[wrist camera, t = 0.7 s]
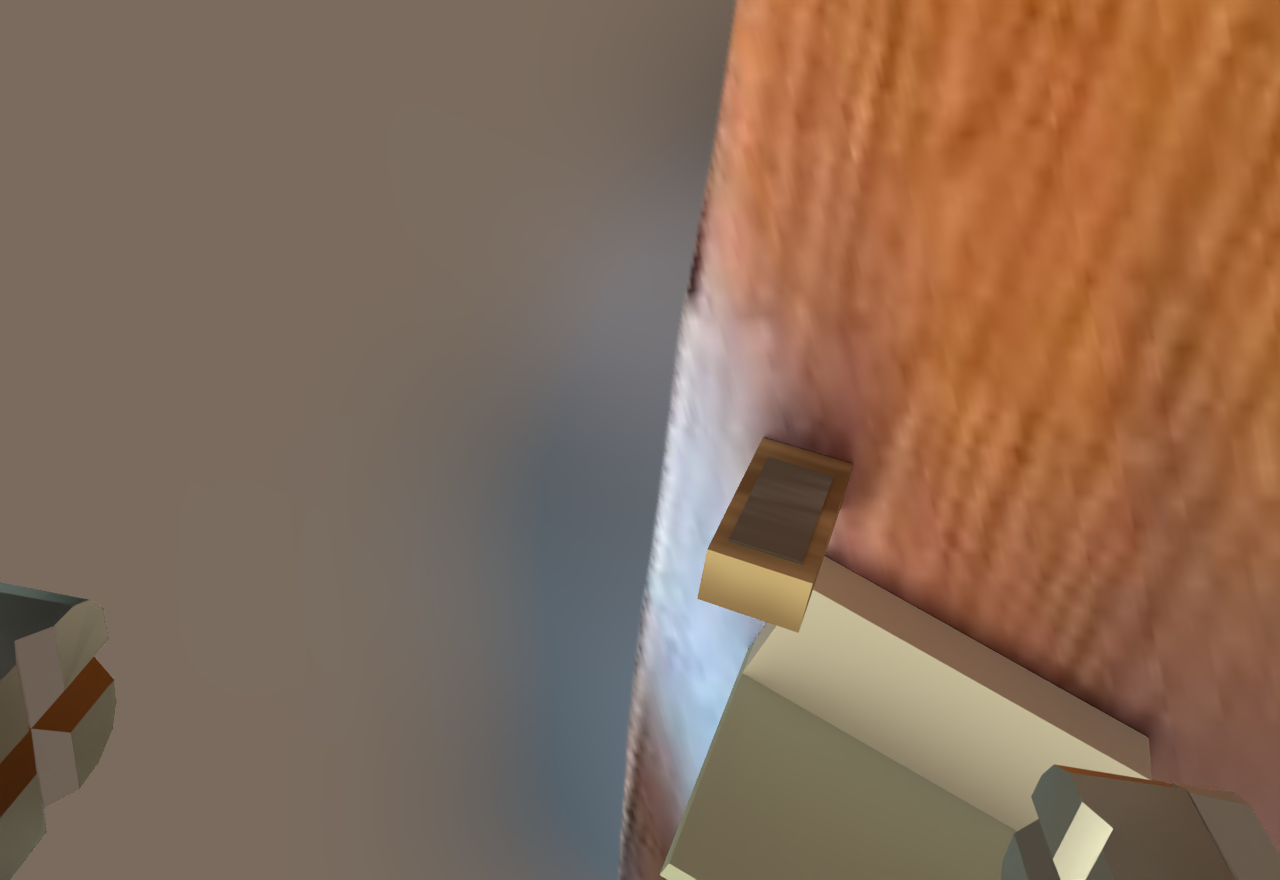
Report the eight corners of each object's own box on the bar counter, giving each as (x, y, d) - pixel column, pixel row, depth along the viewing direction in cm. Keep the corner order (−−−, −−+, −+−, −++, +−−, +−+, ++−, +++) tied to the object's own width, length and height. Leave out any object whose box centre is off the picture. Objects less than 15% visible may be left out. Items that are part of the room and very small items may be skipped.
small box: (763, 435, 52) (707, 546, 44) (853, 461, 51) (813, 581, 43) (753, 482, 54) (697, 598, 46) (839, 509, 53) (798, 633, 45)
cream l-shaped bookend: (817, 551, 54) (739, 775, 42) (1148, 737, 53) (1172, 1028, 40) (747, 650, 60) (659, 874, 47) (1045, 821, 58) (1038, 1100, 46)
